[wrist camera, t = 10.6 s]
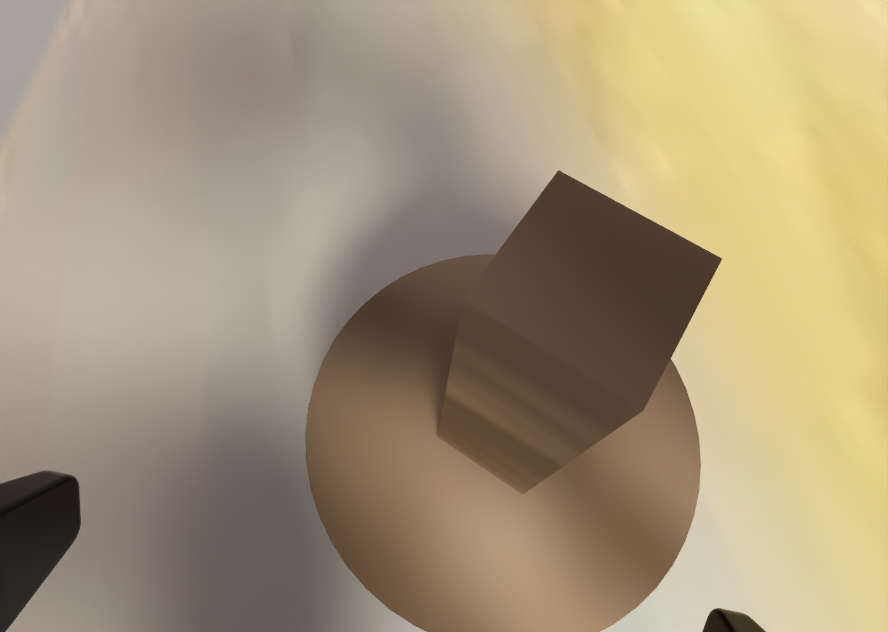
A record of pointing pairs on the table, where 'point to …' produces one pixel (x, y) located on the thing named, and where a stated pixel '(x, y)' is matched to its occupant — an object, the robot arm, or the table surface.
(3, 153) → the table surface
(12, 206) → the table surface
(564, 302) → the walnut lid
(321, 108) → the table surface
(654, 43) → the table surface
